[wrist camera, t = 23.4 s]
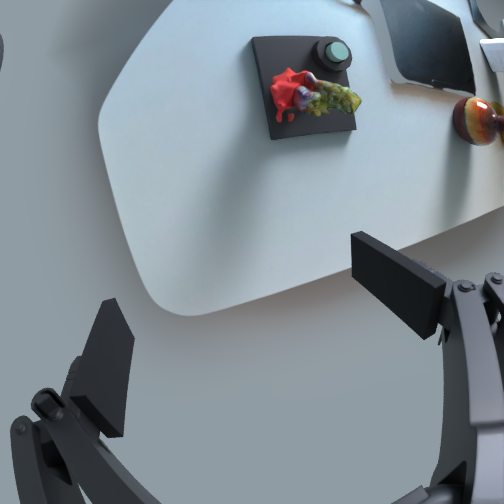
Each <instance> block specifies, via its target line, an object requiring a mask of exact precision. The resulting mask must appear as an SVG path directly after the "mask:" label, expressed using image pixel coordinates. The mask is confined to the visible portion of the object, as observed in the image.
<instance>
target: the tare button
mask: <svg viewBox="0 0 504 504" xmlns="http://www.w3.org/2000/svg"><path fill="white" fill-rule="evenodd" d="M325 52H326V56H327V57H328V58H329V59H330V60H331V61H333V62H340V61H342V60H345V59H346V58H347V57H348V54H349V53H348V49H347V48H346V46H345V45H344V44H342V43H340V42H334V43H332V44H331V45H329V46H327V47H326V50H325Z"/></svg>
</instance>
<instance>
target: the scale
mask: <svg viewBox="0 0 504 504" xmlns="http://www.w3.org/2000/svg"><path fill="white" fill-rule="evenodd" d="M251 42H252V47H253V51H254V56H255V61H256V65H257V70H258V75H259V80H260V84H261V89H262V94H263V99H264V104H265V110H266V115H267V120H268V125H269V131H270V136H271V140H275V139H281V138H288V137H295V136H302V135H310V134H318V133H327V132H337V131H349V130H357V129H356V122H355V116H354V114H351V115H350V114H348V113H345V114H343V113H342V112H341V111H339V110H337V109H327V110H328V111H329V112H330V114H322V115H320V116H318V117H316V116H314V115H313V114H303V113H302V112H301V111H300V110H299V109H298V108H297V107H295V108H290V109H286V110H284V111H283V113H282V121H281V122H278V121H277V119H276V116H277V113H278V108H277V107H276V105H275V103H274V98H273V95H272V93H271V90H270V87H271V86H272V85H275V84H273V81H272V80H273V79H272V78H273V77H274V76H277V75H280V74H282V73H284V72H285V71H286V69H287V68H290V69H291V70H292V71H293V72H294V73H295V74H297V73H301V72H303V71H309V72H311V73H312V74H313V75H314V77H315V78H316V79H317V80H322V81H327V82H331V83H335V84H339V85H341V86H342V87H348V88H350V87H349V82H348V77H347V72H346V69H347V68H348V67H350V64H351V61H352V55H351V51H350V49H349V47H348V46H347V45H346V44H345V42H344V41H342V40H340V39H339V38H337V37H331V36H326V37H320V36H262V37H253V38H252V39H251ZM334 42H340V43H342V44H344V45H345V46H346V48H347V49H348V53H349V54H348V57H347V58H346V59H345V60H342V61H340V62H333V61H331V60H330V59H329V58H328V57H327V56H326V52H325V50H326V47H327V46H329V45H331V44H332V43H334ZM291 113H293V114H294V118H293V120H292V121H291V122H290V121H288V114H291Z"/></svg>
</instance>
